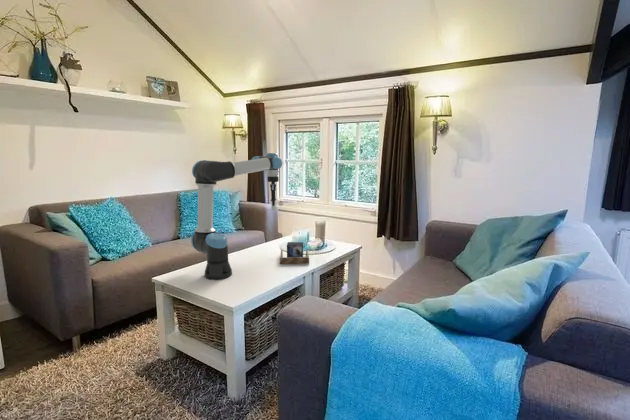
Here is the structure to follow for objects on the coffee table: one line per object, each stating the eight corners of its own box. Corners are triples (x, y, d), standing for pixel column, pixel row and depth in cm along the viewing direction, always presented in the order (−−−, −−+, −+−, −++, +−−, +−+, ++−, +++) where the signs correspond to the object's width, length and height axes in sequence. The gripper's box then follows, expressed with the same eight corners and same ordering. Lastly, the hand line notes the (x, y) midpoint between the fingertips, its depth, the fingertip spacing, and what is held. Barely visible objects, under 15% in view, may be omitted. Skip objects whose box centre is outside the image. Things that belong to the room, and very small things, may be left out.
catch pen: (280, 264, 213) (280, 258, 213) (281, 255, 231) (281, 249, 230) (309, 263, 215) (309, 257, 214) (307, 254, 232) (307, 249, 231)
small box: (286, 260, 221) (286, 244, 219) (287, 257, 228) (287, 241, 226) (302, 260, 221) (302, 244, 219) (303, 257, 228) (303, 242, 226)
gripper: (278, 176, 226) (278, 211, 230) (278, 175, 239) (279, 208, 243) (266, 176, 225) (267, 211, 230) (268, 175, 238) (268, 208, 242)
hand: (273, 209), depth 236 cm, fingers closed
